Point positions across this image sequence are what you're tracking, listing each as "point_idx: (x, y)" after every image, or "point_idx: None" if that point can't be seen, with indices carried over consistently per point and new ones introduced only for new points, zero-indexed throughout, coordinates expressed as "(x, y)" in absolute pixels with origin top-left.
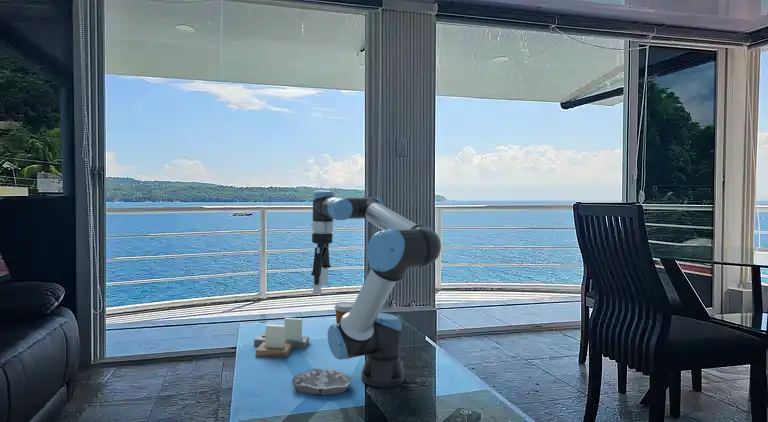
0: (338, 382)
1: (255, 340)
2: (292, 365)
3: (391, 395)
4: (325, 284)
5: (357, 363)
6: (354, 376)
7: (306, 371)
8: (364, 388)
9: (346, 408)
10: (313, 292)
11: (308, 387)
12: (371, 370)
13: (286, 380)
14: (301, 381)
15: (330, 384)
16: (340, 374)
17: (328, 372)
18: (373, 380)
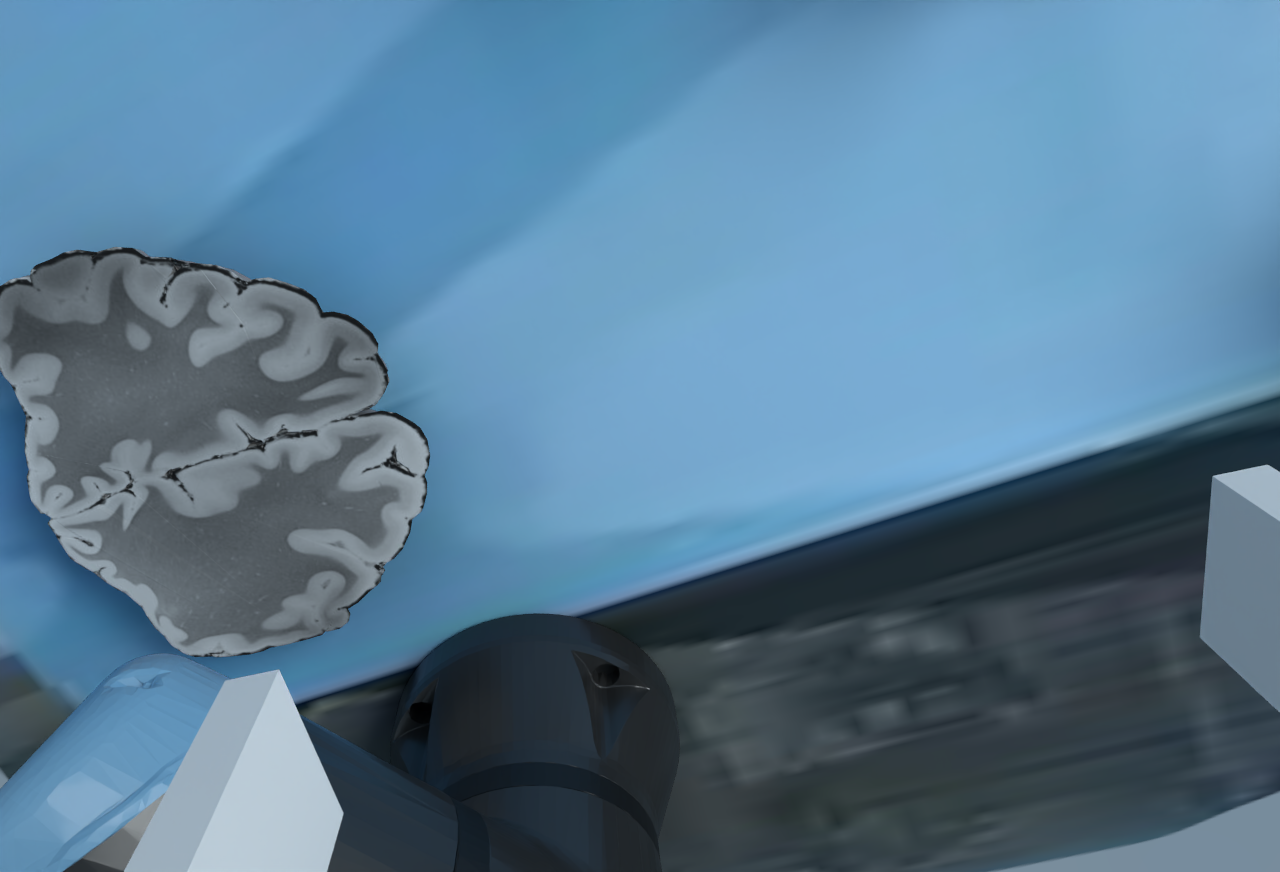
0: (218, 587)
1: None
2: (503, 24)
3: None
4: (1213, 601)
5: (746, 509)
6: (504, 570)
7: (278, 291)
8: (350, 682)
9: (29, 685)
10: (225, 701)
11: (31, 426)
12: (403, 769)
13: (178, 134)
14: (72, 342)
15: (152, 554)
16: (358, 549)
17: (350, 459)
18: (390, 747)
